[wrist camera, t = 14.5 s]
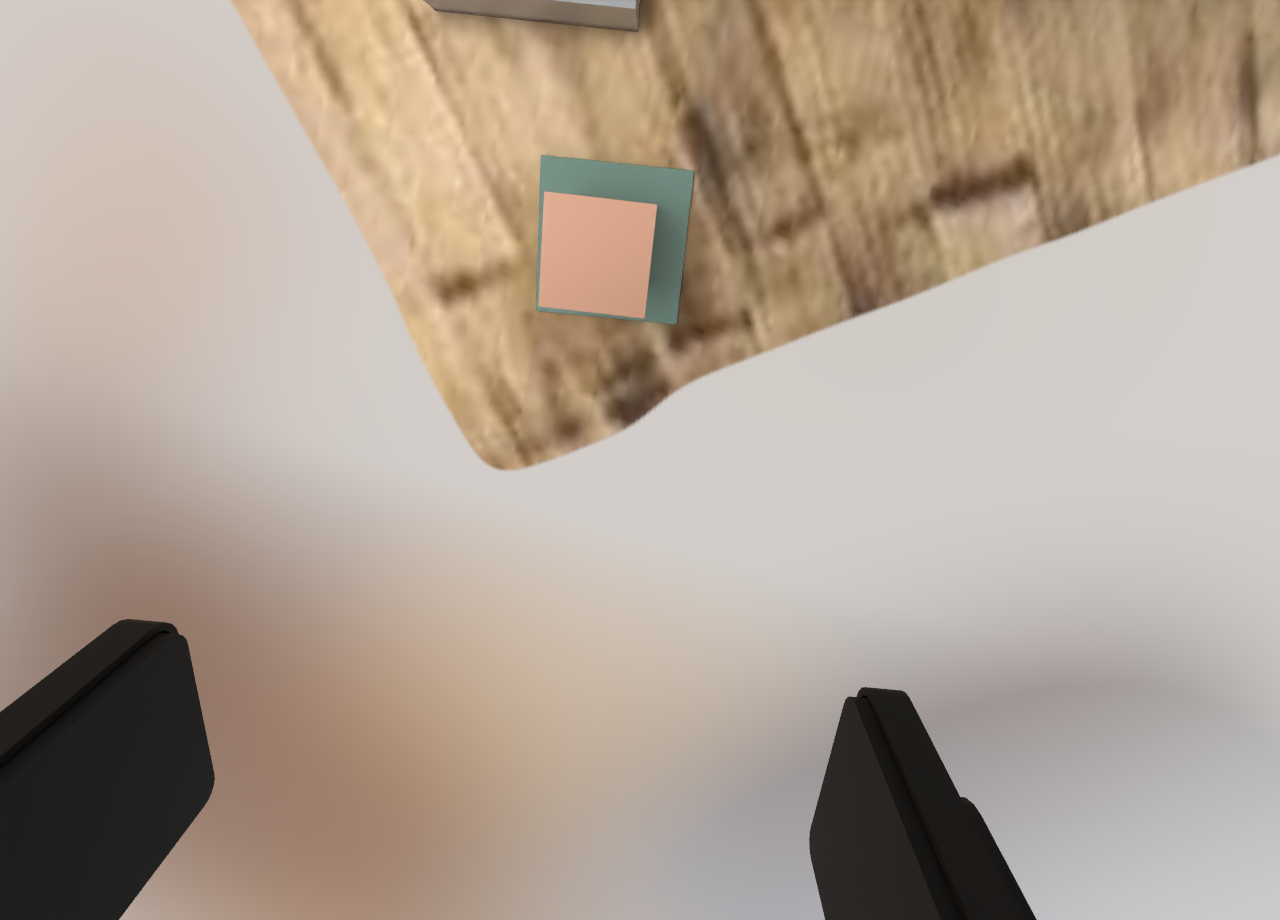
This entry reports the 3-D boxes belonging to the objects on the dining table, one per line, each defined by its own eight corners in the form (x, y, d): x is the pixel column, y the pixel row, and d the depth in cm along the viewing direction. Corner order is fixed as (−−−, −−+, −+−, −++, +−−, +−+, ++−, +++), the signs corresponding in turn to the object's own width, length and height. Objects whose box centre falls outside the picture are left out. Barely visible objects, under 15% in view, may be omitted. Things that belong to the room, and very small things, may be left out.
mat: (693, 171, 34) (693, 170, 34) (676, 322, 37) (676, 324, 37) (542, 155, 34) (540, 155, 34) (537, 309, 37) (535, 310, 37)
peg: (657, 204, 34) (657, 204, 25) (647, 288, 36) (644, 318, 27) (574, 194, 34) (544, 191, 25) (569, 279, 36) (538, 306, 27)
